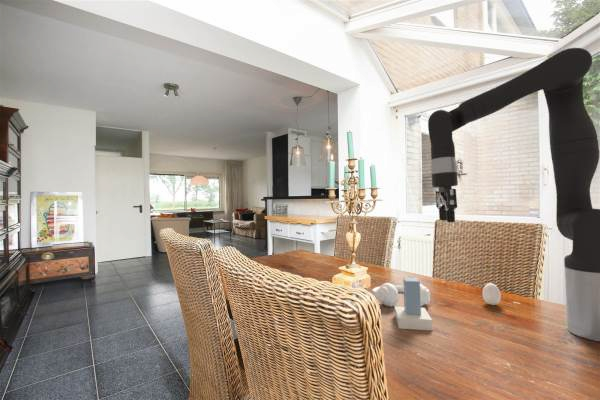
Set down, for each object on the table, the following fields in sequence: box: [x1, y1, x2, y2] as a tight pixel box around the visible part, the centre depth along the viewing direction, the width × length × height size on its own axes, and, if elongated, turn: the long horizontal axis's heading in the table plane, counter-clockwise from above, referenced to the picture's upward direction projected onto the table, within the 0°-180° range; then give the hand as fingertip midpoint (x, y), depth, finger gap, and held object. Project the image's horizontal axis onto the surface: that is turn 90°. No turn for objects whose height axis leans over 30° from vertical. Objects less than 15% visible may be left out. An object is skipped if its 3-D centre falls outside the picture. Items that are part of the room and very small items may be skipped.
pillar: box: [402, 277, 422, 316], centre depth 83 cm, size 4×4×10 cm
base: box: [394, 305, 433, 331], centre depth 83 cm, size 9×9×3 cm
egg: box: [481, 282, 502, 306], centre depth 95 cm, size 5×5×7 cm
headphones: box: [371, 282, 431, 308], centre depth 103 cm, size 20×8×20 cm
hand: (446, 221), depth 91 cm, fingers open, 8 cm apart
